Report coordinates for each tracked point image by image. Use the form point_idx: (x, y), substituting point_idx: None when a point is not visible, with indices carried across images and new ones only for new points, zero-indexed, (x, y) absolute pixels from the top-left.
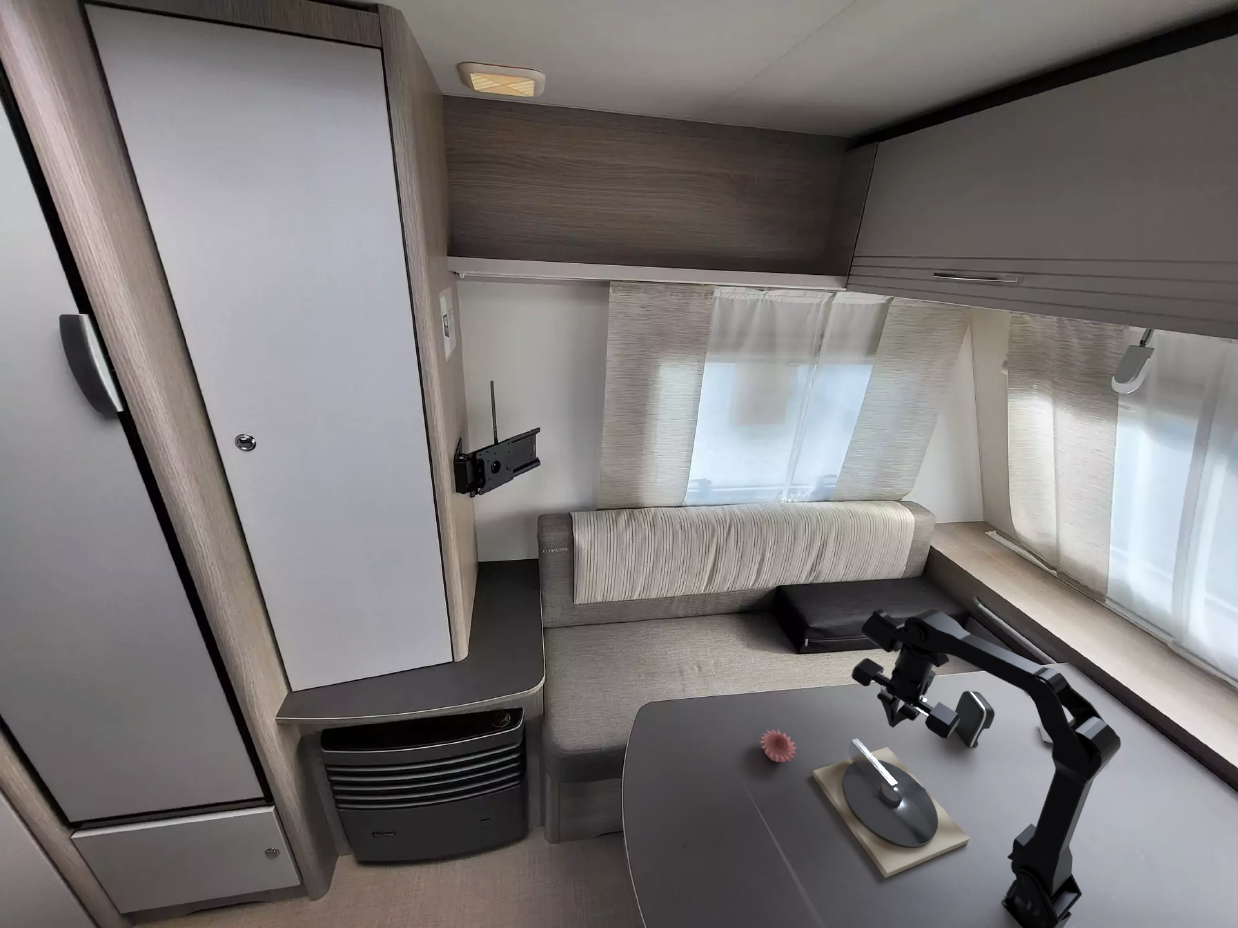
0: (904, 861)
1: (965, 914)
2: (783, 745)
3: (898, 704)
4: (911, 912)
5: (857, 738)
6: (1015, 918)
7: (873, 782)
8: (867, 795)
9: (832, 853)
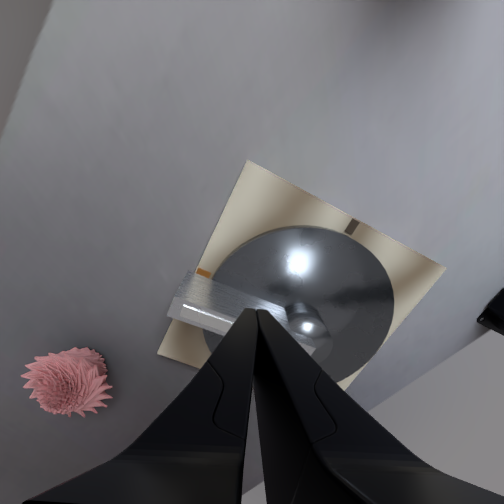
0: (344, 384)
1: (424, 370)
2: (73, 401)
3: (246, 429)
4: None
5: (176, 298)
6: (493, 329)
7: None
8: None
9: (252, 419)
